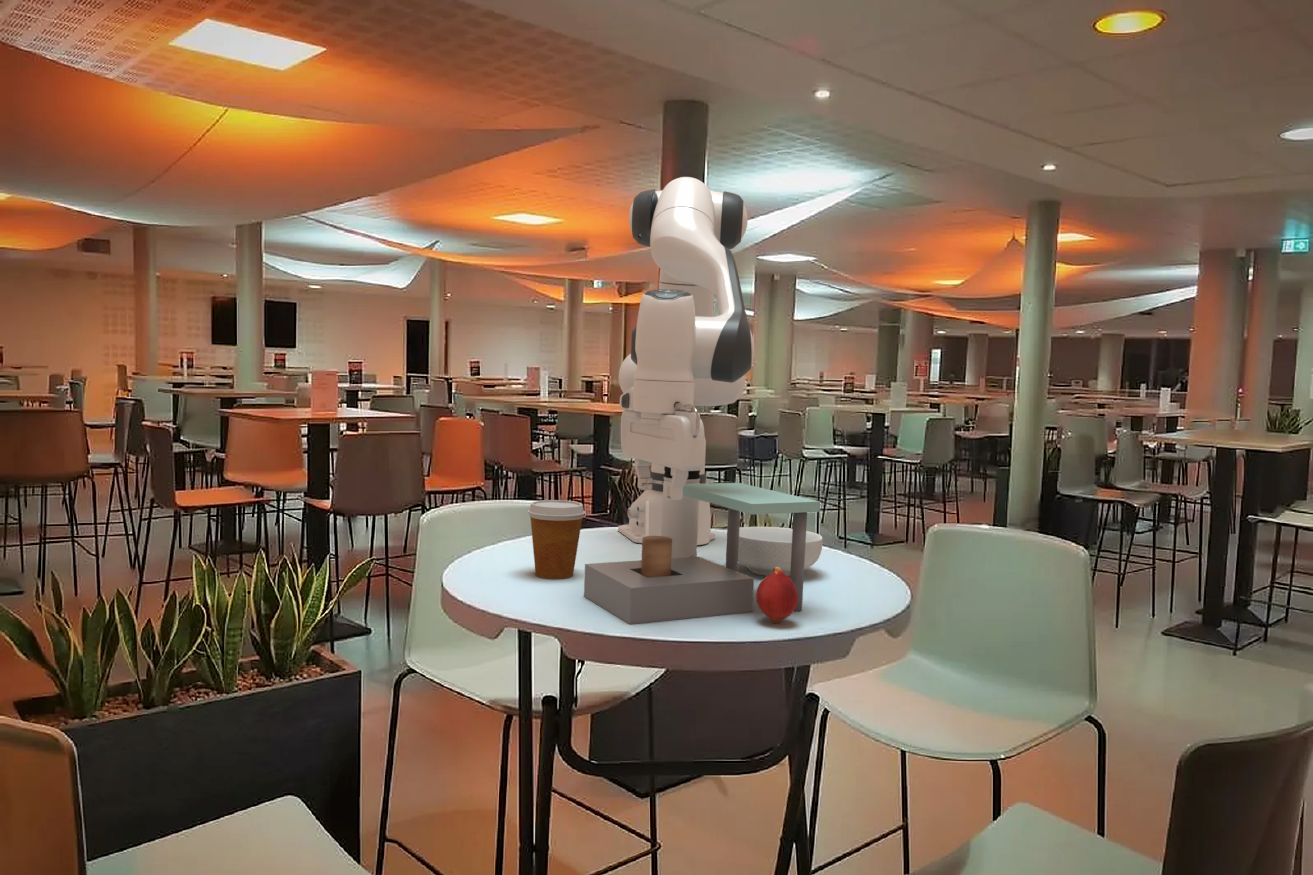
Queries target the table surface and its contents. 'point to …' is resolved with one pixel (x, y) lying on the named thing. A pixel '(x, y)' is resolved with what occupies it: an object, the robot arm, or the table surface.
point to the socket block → (668, 590)
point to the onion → (777, 596)
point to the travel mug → (680, 518)
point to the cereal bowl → (773, 549)
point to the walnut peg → (656, 556)
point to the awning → (759, 503)
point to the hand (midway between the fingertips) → (659, 494)
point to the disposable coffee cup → (555, 536)
